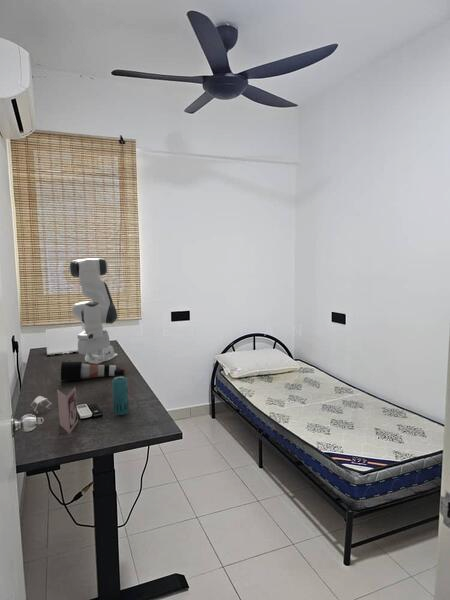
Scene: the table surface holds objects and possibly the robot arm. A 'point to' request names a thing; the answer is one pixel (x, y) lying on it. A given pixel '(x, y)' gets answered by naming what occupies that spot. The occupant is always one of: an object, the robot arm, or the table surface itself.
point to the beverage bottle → (120, 393)
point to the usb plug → (96, 359)
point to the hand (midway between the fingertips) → (95, 358)
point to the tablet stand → (62, 340)
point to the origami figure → (40, 400)
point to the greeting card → (68, 410)
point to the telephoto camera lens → (85, 370)
